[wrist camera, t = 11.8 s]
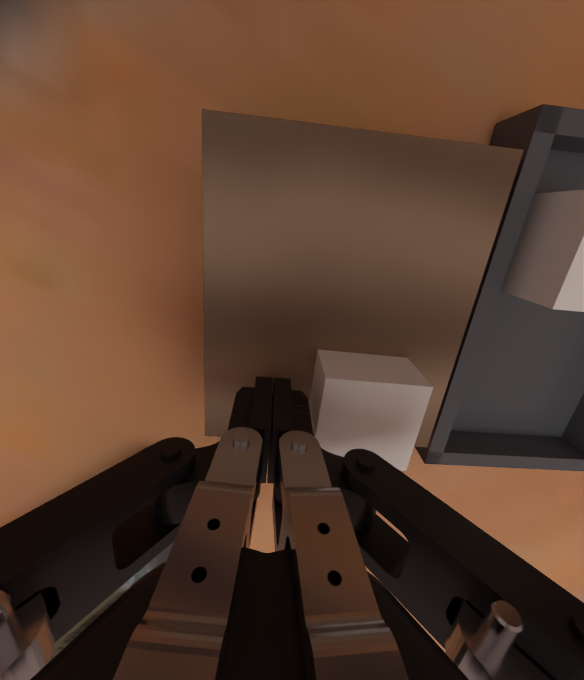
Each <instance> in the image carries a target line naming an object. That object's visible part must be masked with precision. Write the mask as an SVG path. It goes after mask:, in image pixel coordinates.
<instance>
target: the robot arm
mask: <svg viewBox="0 0 584 680" xmlns="http://www.w3.org/2000/svg"><path fill="white" fill-rule="evenodd" d="M272 385H273V391H272ZM268 454H269V455H268ZM267 464H268V479H267V483H274V486H273V499H272V511H273V526H274V541H275V552H272V553H262V552H259V551H256V550H253V549H250V543H251V537H252V530H253V524H254V518H255V512H256V506H257V498H258V496H259V494H260V485H261V483H266V474H267ZM148 503H149V504H148ZM138 510H139V511H138ZM376 510H377V511H378V512H379V513H380V514H381V515H383V516H384V517H385V518H386V519H387V520H388V521H389V522H391V523H392V524H393V525H394V526H395V527H396V528H397V529H399V530H400V531H401V532H402V533H403V534H404V535H405V537H406V538H407V540H408V542H409V543H408V542H407V541H406V540H405V539H404V538H403V537H401V536H400V535H399V534H398V533H397V532H396V531H395V530H394V529H392V528H391V527H390V526H389V525H388V524H387V523H386V522H384V521H383V520H382V519H381V518H380V517H379V516H378V515H376ZM125 519H126V520H125ZM173 542H174V543H173ZM171 543H173V546H172V548H171V551H170V553H169V556H168V558H167V561H166V562H164V563H162V564H160V565H159V566H157V567H155V568H154V569H152V570H151V571H149V572H148V573H147V574H145V575H144V576H143V577H141V578H140V579H139V580H138V581H137V582H136V583H134V584H133V585H132V586H131V587H130V588H129V589H128V590H127V591H126V592H125V593H124V594H123V595H121V596H120V597H119V598H118V599H117V600H116V601H115V602H114V603H113V604H112V605H111V606H109V607H108V608H107V609H106V610H105V611H104V612H103V613H102V614H101V615H100V616H99V617H98V618H96V619H95V620H94V621H93V622H92V623H91V624H90V625H89V626H88V627H87V628H86V629H84V630H83V631H82V632H81V633H80V634H79V635H78V636H77V637H76V638H75V639H74V640H73V641H71V642H70V643H69V644H68V645H67V646H66V647H65V648H64V649H63V650H62V651H61V652H59V653H58V654H57V655H56V656H55V657H54V658H53V659H52V660H51V661H50V662H49V660H50V657H51V655H52V652H53V649H54V644H55V642H56V641H58V640H59V639H60V638H61V637H62V636H64V635H65V634H66V633H67V632H68V631H69V630H71V629H72V628H73V627H74V626H75V625H76V624H78V623H79V622H80V621H81V620H82V619H83V618H85V617H86V616H87V615H88V614H89V613H90V612H92V611H93V610H94V609H95V608H96V607H98V606H99V605H100V604H101V603H102V602H103V601H105V600H106V599H107V598H108V597H109V596H110V595H112V594H113V593H114V592H115V591H116V590H117V589H119V588H120V587H121V586H122V585H123V584H124V583H126V582H127V581H128V580H129V579H130V578H132V577H133V576H134V575H135V574H136V573H137V572H139V571H140V570H141V569H142V568H143V567H144V566H146V565H147V564H148V563H149V562H150V561H151V560H153V559H154V558H155V557H156V556H157V555H159V554H160V553H161V552H162V551H163V550H164V549H166V548H167V547H168V546H169V545H170V544H171ZM365 566H366V567H367V568H368V569H369V570H370V571H371V572H372V573H373V574H374V575H375V576H376V577H377V578H378V579H376V578H375V577H374V576H373V575H372V574H370V573H369V572H367V570H366V567H365ZM389 591H390V592H391V593H392V594H393V595H394V596H395V597H396V598H397V599H398V600H399V601H400V602H401V604H402V605H403V606H404V607H405V608H406V609H407V610H408V611H409V612H410V613H411V614H412V615H413V616H414V617H415V618H416V619H417V620H418V621H419V622H420V623H421V624H422V625H423V627H424V628H425V629H426V630H427V631H428V632H429V633H430V634H431V635H432V636H433V637H434V638H435V639H436V640H437V641H438V642H439V643H440V644H441V645H442V646H443V647H444V648H445V650H446V653H445V652H444V651H443V650H442V649H441V648H440V647H439V646H438V645H437V644H436V642H435V641H434V640H433V639H432V638H431V637H430V636H429V635H428V634H427V632H426V631H425V630H424V629H423V628H422V627H421V626H420V625H419V624H418V623H417V621H416V620H415V619H414V618H413V617H412V616H411V615H410V614H409V613H408V611H407V610H406V609H405V608H404V607H403V606H402V605H401V604H400V603H399V602H398V600H397V599H396V598H395V597H394V596H393V595H392V594H391V593H390V592H389ZM48 662H49V663H48ZM47 663H48V664H47ZM0 680H584V603H583V602H581V601H580V600H579V599H577V598H576V597H575V596H573V595H572V594H570V593H569V592H568V591H566V590H565V589H563V588H562V587H561V586H559V585H558V584H556V583H555V582H554V581H552V580H551V579H550V578H548V577H547V576H545V575H544V574H543V573H541V572H540V571H538V570H537V569H536V568H534V567H533V566H531V565H530V564H529V563H527V562H526V561H525V560H523V559H522V558H520V557H519V556H518V555H516V554H515V553H513V552H512V551H511V550H509V549H508V548H506V547H505V546H504V545H502V544H501V543H500V542H498V541H497V540H495V539H494V538H493V537H491V536H490V535H488V534H487V533H486V532H484V531H483V530H481V529H480V528H479V527H477V526H476V525H474V524H473V523H472V522H470V521H469V520H468V519H466V518H465V517H463V516H462V515H461V514H459V513H458V512H456V511H455V510H454V509H452V508H451V507H449V506H448V505H447V504H445V503H444V502H443V501H441V500H440V499H438V498H437V497H436V496H434V495H433V494H431V493H430V492H429V491H427V490H426V489H424V488H423V487H422V486H420V485H419V484H418V483H416V482H415V481H413V480H412V479H411V478H409V477H408V476H406V475H405V474H404V473H402V472H401V471H399V470H398V469H397V468H395V467H394V466H393V465H391V464H390V463H388V462H387V461H386V460H384V459H383V458H381V457H380V456H379V455H377V454H376V453H374V452H372V451H369V450H366V449H352V450H350V451H348V452H347V453H346V454H345V456H344V457H342V456H339V455H335V454H332V453H330V452H328V451H326V450H324V449H323V448H321V447H320V444H319V441H318V440H317V439H316V438H315V437H314V433H313V427H312V421H311V414H310V408H309V402H308V397H307V396H306V395H305V394H304V393H303V392H302V391H297V390H291V379H288V378H275V377H274V381H273V377H261V376H256V381H255V387H242V388H241V389H240V390H239V391H238V392H237V393H236V396H235V400H234V404H233V409H232V413H231V417H230V421H229V426H228V430H227V431H226V432H225V433H224V434H223V435H222V437H221V439H220V441H219V442H217V443H216V444H213V445H210V446H207V447H201V448H196V449H195V447H194V445H193V443H192V442H191V441H189V440H187V439H185V438H179V437H173V438H167V439H164V440H161V441H159V442H157V443H155V444H153V445H151V446H150V447H148V448H146V449H144V450H142V451H140V452H139V453H137V454H135V455H133V456H131V457H129V458H127V459H126V460H124V461H122V462H120V463H118V464H116V465H115V466H113V467H111V468H109V469H107V470H105V471H104V472H102V473H100V474H98V475H96V476H94V477H93V478H91V479H89V480H87V481H85V482H83V483H82V484H80V485H78V486H76V487H74V488H72V489H71V490H69V491H67V492H65V493H63V494H61V495H60V496H58V497H56V498H54V499H52V500H50V501H48V502H47V503H45V504H43V505H41V506H39V507H37V508H36V509H34V510H32V511H30V512H28V513H26V514H25V515H23V516H21V517H19V518H17V519H15V520H14V521H12V522H10V523H8V524H6V525H4V526H3V527H1V528H0Z"/></svg>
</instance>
